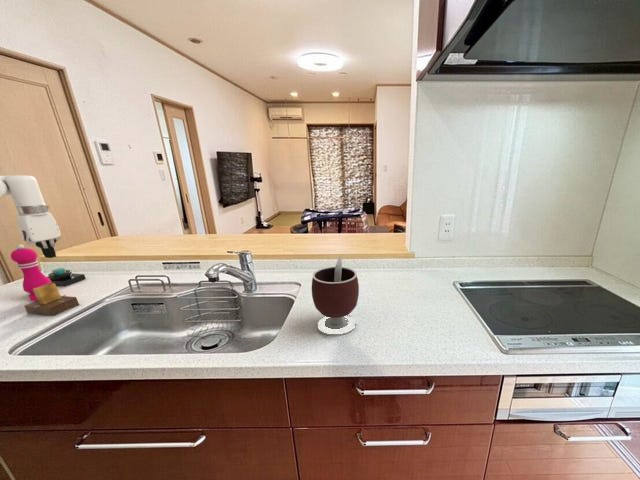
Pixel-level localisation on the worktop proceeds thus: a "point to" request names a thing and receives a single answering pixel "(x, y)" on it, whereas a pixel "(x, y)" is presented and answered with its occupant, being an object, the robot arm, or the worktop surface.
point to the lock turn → (47, 293)
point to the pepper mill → (29, 269)
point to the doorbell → (66, 278)
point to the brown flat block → (52, 306)
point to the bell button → (59, 271)
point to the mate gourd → (335, 294)
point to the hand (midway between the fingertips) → (50, 257)
